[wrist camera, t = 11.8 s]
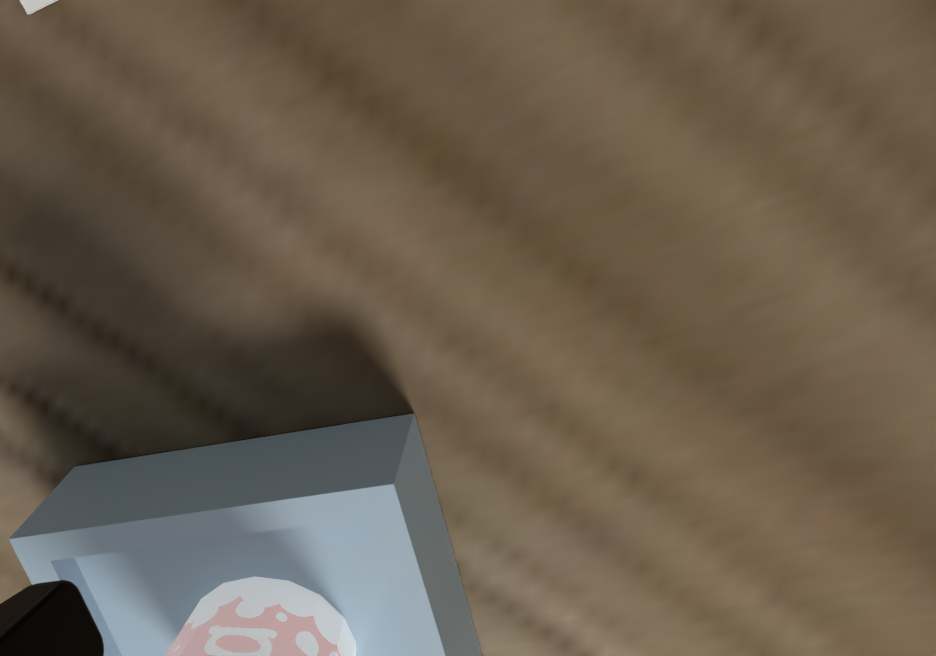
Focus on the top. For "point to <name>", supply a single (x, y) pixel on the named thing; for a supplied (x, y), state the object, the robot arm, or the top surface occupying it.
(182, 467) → the rectangular tray
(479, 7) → the top surface
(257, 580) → the beverage cup
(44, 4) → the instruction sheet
